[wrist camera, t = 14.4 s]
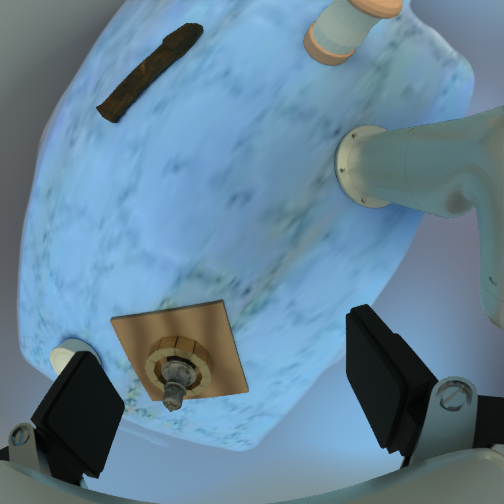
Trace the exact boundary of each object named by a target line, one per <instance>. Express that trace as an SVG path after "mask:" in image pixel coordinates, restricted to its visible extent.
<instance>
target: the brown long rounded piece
mask: <svg viewBox="0 0 504 504" xmlns="http://www.w3.org/2000/svg"><path fill="white" fill-rule="evenodd" d="M202 33H203V27H202V25H199V24H197V23H186V24H184V25H183V26H181V27H180V28H178V29H177V30H175V31H174V32H172V33H170V34H169V35H168V36H166V37H165V38H164V39H163V42H162V45H160V46H159V47H158V48H157V49H156V50H155V51H154V52H153V53H152V54H151V55H150V56H148V57H147V58H146V59H145V60H144V61H143V62H142V63H140V64H139V65H138V66H137V67H136V68H135V69H134V70H133V71H132V72H131V73H130V74H129V75H128V76H127V77H126V78H125V79H124V80H123V81H122V82H121V83H120V85H119V86H118V87H117V88H116V89H115V90H114V91H113V92H112V94H111V95H110V96H109V97H108V98H107V99H106V100H105V101H104V102H103V103H102V104H101V105H99V106H97V107H96V109H97V110H98V112H99V113H100V114H101V115H102V117H104V118H105V119H107V120H109V121H110V122H112V123H117V122H118V117H119V116H121V115H123V114H124V111H125V109H126V108H127V107H128V106H129V105H130V104H131V103H132V102H133V101H134V100H135V99H136V98H137V96H138V95H139V94H140V93H141V92H142V91H143V90H144V89H145V88H146V87H148V85H149V84H150V83H151V82H152V81H153V80H154V79H155V78H156V77H157V76H158V75H159V74H160V73H161V72H162V71H163V70H164V69H165V68H166V67H168V66H169V65H170V64H171V63H172V62H173V61H174V60H176V59H177V58H181V57H182V56H183V55H184V54H185V53H186V52H187V51H188V50H189V49H190V48H191V47H192V45H193V44H194V43H195V42H196V41H197V39H198V38H199V37H200V35H201V34H202Z"/></svg>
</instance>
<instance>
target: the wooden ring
mask: <svg viewBox="0 0 504 504" xmlns="http://www.w3.org/2000/svg"><path fill="white" fill-rule="evenodd" d="M166 356H179V357H182V358H186V359H189V360H190V361H191V362H193V363H194V364H195V365H196V366H198V367H199V369H200V373H199V374H197V375H196V380H195V381H194V382H193V383H192V384H190V385H188V386H186V387H185V388H186V390H187V393H186V395H185V396H196V395H198V394H200V393H201V392H203V391H205V390H206V389H207V388H208V387H209V384H210V381H211V379H212V371H213V362H212V359H211V356H210V354H209V352H208V350H207V349H205V348H204V347H203V346H202V345H201V344H200V343H198V342H197V341H195V340H193V339H189V338H186V337H183V336H179V337H178V335H176V336H169V337H163V338H161V339H160V340H158V341H157V342H156V343H155V344H154V345H152V347H151V349H150V352H149V354H148V357H147V360H146V366H145V371H146V373H147V375H148V377H149V379H150V381H151V382H152V383H153V384H154V385H155V386H157V387H158V388H160V389H161V390H162V391H164V385H165V384H166V383H167V380H166V379H165V378H164V377H163V375H162V372H161V369H162V366H161V364H160V362H159V359H161V358H162V357H166ZM183 397H184V396H183Z"/></svg>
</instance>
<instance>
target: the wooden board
mask: <svg viewBox="0 0 504 504" xmlns="http://www.w3.org/2000/svg"><path fill="white" fill-rule="evenodd" d="M110 322H111V324H112V326H113V328H114V330H115V333H116V335H117V337H118V339H119V341H120V343H121V345H122V347H123V349H124V351H125V353H126V355H127V357H128V359H129V361H130V363H131V365H132V366H133V368H134V370H135V372H136V374H137V376H138V377H139V379H140V381H141V383H142V384H143V386H144V388H145V389H146V391H147V393H148V394H149V396H150V398H151V399H152V401H163V397H164V393H165V391H162V390H161V389H160V388H158V387H157V386H155V385H154V384H153V383H152V382H151V381H150V379H149V377H148V375H147V373H146V371H145V366H146V360H147V357H148V354H149V352H150V349H151V347H152V345H154V344H155V343H156V342H157V341H158V340H160V339H161V338H163V337H169V336H176V335H178V337H179V336H183V337H186V338H189V339H193V340H195V341H197V342H198V343H200V344H201V345H202V346H203V347H204V348H205V349H207V350H208V352H209V354H210V356H211V359H212V362H213V371H212V379H211V381H210V384H209V387H208V388H207V389H206V390H205V391H203V392H201V393H200V394H198V395H196V396H184V397H183V400H185V399H198V398H208V397H217V396H226V395H233V394H240V393H247V392H249V389H248V386H247V382H246V379H245V376H244V372H243V369H242V366H241V363H240V359H239V356H238V352H237V349H236V346H235V342H234V339H233V335H232V332H231V328H230V324H229V321H228V317H227V314H226V310H225V306H224V303H223V300H219V301H213V302H208V303H202V304H196V305H190V306H185V307H179V308H172V309H166V310H160V311H153V312H147V313H140V314H133V315H126V316H119V317H112V318H111V320H110ZM159 362H160V364H161V366H163V365H164V364H165V363H166V362H167V356H166V357H162V358H161V359H159ZM194 369H195V372H196V375H197V374H199V373H200V369H199V367H198V366H196V367H195V368H194Z"/></svg>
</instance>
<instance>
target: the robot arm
mask: <svg viewBox="0 0 504 504" xmlns="http://www.w3.org/2000/svg"><path fill="white" fill-rule="evenodd" d="M352 135H353V138H352ZM340 169H342V171H341V172H340ZM335 171H336V176H337V179H338V182H339V184H340V186H341V188H342V190H343V191H344V192H345V194H346V195H347V196H348V197H349V198H350V199H351V200H353V201H354V202H356V203H357V204H359V205H362V206H364V207H368V208H382V207H385V206H388V205H390V204H391V203H394V204H398V205H401V206H405V207H408V208H412V209H415V210H418V211H422V212H425V213H429V214H432V215H435V216H439V217H444V218H455V217H458V216H462V215H464V214H465V213H467V212H469V211H471V210H472V209H473V208H474V207H476V211H477V218H478V228H479V238H480V300H481V304H482V308H483V311H484V313H485V315H486V316H487V318H488V319H489V320H490V321H491V322H492V323H493V324H494V325H495V326H497V327H499V328H500V329H502V330H504V105H503V106H500V107H496V108H493V109H490V110H487V111H484V112H482V113H478V114H476V115H472V116H468V117H465V118H461V119H456V120H450V121H445V122H439V123H432V124H427V125H420V126H414V127H408V128H403V129H397V130H392V131H388V130H386V129H384V128H382V127H379V126H375V125H364V126H360V127H357V128H355V129H353V130H351V131H349V132H348V133H347V134H346V135H345V136H344V137H343V139H342V140H341V141H340V143H339V146H338V148H337V151H336V155H335ZM361 199H363V200H362V201H361ZM346 374H347V378H348V380H349V382H350V384H351V387H352V388H353V390H354V393H355V395H356V397H357V399H358V401H359V403H360V405H361V407H362V409H363V411H364V413H365V415H366V418H367V420H368V421H369V424H370V425H371V428H372V430H373V432H374V434H375V436H376V439H377V441H378V443H379V445H380V447H381V448H383V449H384V448H387V450H388V452H389V454H391V453H393V452H396V451H398V450H399V452H400V454H401V456H404V459H403V461H402V464H401V467H400V469H399V470H397V471H394V472H391V473H388V474H386V475H383V476H380V477H377V478H374V479H371V480H368V481H365V482H362V483H360V484H356V485H353V486H350V487H346V488H343V489H339V490H336V491H332V492H328V493H324V494H319V495H314V496H310V497H305V498H300V499H295V500H290V501H283V502H276V503H269V504H504V398H502V397H491V396H481V395H478V394H477V389H476V388H475V386H474V384H473V383H472V382H471V381H469V380H467V379H465V378H463V377H457V376H455V377H454V376H452V377H447V378H444V379H442V380H441V381H438V380H437V378H436V377H435V376H434V375H433V373H432V372H431V371H430V370H429V369H428V367H427V366H426V365H425V364H424V363H423V361H422V360H421V359H420V358H419V357H418V356H417V354H416V353H415V352H414V351H413V350H412V349H411V347H410V346H409V345H408V344H407V343H406V342H405V341H404V339H403V338H402V337H401V336H400V335H399V334H396V333H393V332H392V331H391V330H390V329H389V328H388V326H387V325H386V324H385V323H384V322H383V321H382V320H381V319H380V317H379V316H378V315H377V314H376V313H375V312H374V311H373V310H372V308H371V307H370V306H369V305H368V304H364V305H361V306H357V307H354V308H351V310H350V313H348V314H346ZM124 409H125V405H124V402H123V400H122V399H121V397H120V396H119V394H118V393H117V391H116V389H115V388H114V386H113V385H112V383H111V382H110V380H109V378H108V377H107V375H106V373H105V372H104V370H103V368H102V366H101V365H100V363H99V361H98V359H97V358H96V356H95V355H94V354H92V353H91V352H90V351H77V352H76V353H75V354H74V355H73V356H72V358H71V359H70V361H69V362H68V363H67V365H66V366H65V368H64V369H63V370H62V372H61V373H60V375H59V376H58V378H57V379H56V380H55V382H54V384H53V385H52V386H51V388H50V389H49V391H48V393H47V394H46V396H45V397H44V399H43V400H42V402H41V403H40V405H39V406H38V408H37V409H36V411H35V413H34V414H33V416H32V418H31V419H30V420H31V421H32V422H33V423H34V424H35V425H36V429H34V428H33V427H32V426H31V424H29V423H20V424H18V425H17V426H15V427H14V428H13V430H12V431H11V432H10V435H9V440H8V443H9V446H7V447H5V448H3V449H1V450H0V504H157V503H149V502H142V501H137V500H131V499H126V498H121V497H116V496H112V495H107V494H103V493H100V492H96V491H92V490H89V489H88V487H87V485H86V483H85V480H84V478H83V476H82V475H83V473H84V474H86V475H87V476H89V477H93V478H97V479H98V478H99V475H100V473H101V472H102V471H103V469H104V466H105V463H106V460H107V457H108V454H109V451H110V448H111V445H112V442H113V440H114V437H115V434H116V431H117V428H118V426H119V423H120V420H121V417H122V415H123V412H124Z"/></svg>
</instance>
